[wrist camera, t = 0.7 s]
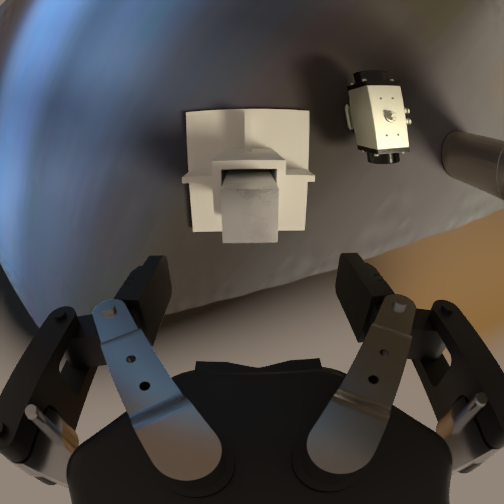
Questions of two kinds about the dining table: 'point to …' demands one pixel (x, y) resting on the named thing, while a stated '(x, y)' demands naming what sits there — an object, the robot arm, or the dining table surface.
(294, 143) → the stand base
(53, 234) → the dining table surface
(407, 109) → the pneumatic valve
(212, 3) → the dining table surface
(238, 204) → the column
